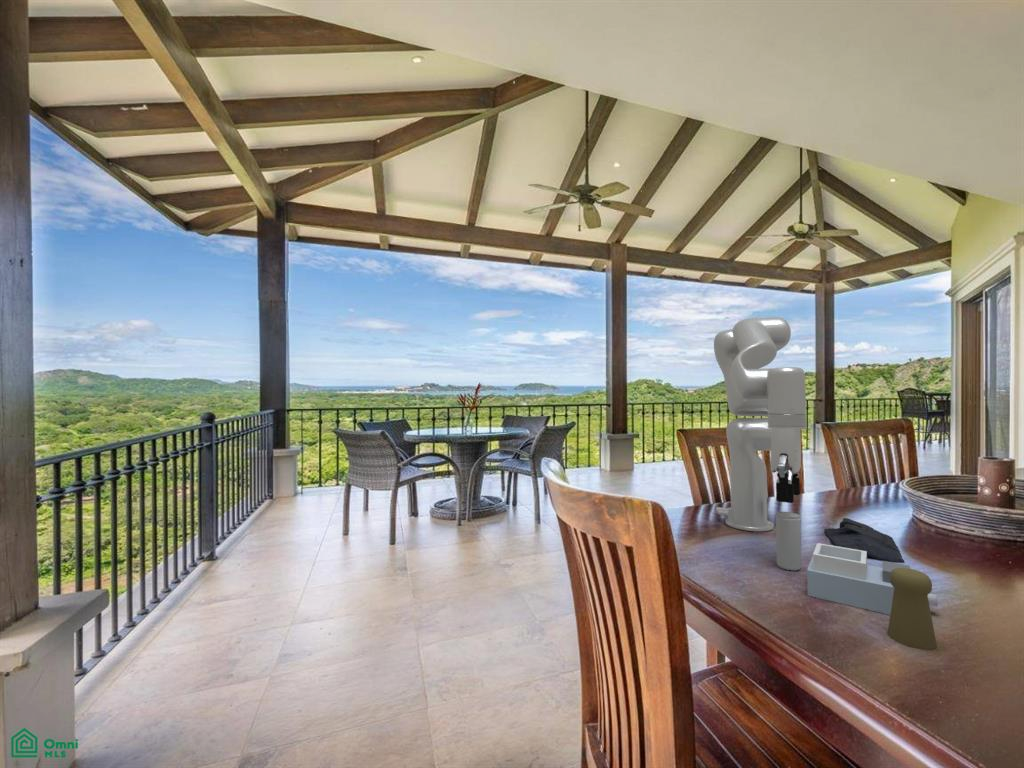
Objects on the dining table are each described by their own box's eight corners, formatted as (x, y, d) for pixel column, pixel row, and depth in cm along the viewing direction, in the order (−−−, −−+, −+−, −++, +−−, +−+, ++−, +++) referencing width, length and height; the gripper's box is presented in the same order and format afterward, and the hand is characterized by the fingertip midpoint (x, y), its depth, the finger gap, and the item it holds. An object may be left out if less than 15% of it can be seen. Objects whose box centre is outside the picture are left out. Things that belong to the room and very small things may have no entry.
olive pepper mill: (877, 630, 77) (876, 564, 77) (911, 628, 77) (909, 562, 78) (912, 650, 71) (910, 579, 71) (948, 648, 71) (946, 577, 71)
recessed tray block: (807, 595, 90) (806, 554, 90) (813, 578, 98) (812, 541, 98) (940, 626, 78) (939, 578, 78) (934, 604, 86) (933, 561, 86)
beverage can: (798, 564, 105) (797, 512, 105) (804, 572, 101) (803, 517, 101) (774, 562, 107) (773, 510, 107) (779, 570, 102) (778, 516, 102)
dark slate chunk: (827, 555, 112) (827, 535, 113) (823, 531, 131) (823, 514, 131) (909, 567, 104) (908, 546, 104) (892, 539, 123) (892, 522, 123)
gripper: (774, 419, 113) (776, 489, 113) (760, 423, 100) (762, 502, 99) (810, 420, 108) (812, 493, 108) (801, 424, 95) (803, 507, 94)
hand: (788, 498), depth 104 cm, fingers open, 9 cm apart
